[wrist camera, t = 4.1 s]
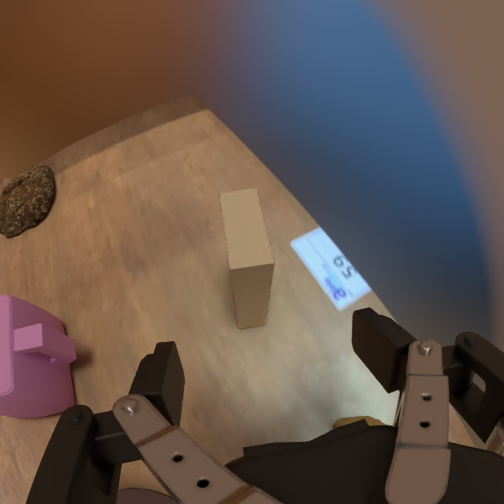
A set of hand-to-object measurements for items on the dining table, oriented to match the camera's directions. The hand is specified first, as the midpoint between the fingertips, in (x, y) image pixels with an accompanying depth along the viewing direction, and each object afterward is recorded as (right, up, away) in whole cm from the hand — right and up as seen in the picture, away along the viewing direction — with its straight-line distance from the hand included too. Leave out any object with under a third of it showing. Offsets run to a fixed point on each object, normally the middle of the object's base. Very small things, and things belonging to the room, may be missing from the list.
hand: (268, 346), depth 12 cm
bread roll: (-36, +11, +21) cm, 43 cm away
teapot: (-24, -9, +9) cm, 27 cm away
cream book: (-1, 0, +14) cm, 14 cm away
